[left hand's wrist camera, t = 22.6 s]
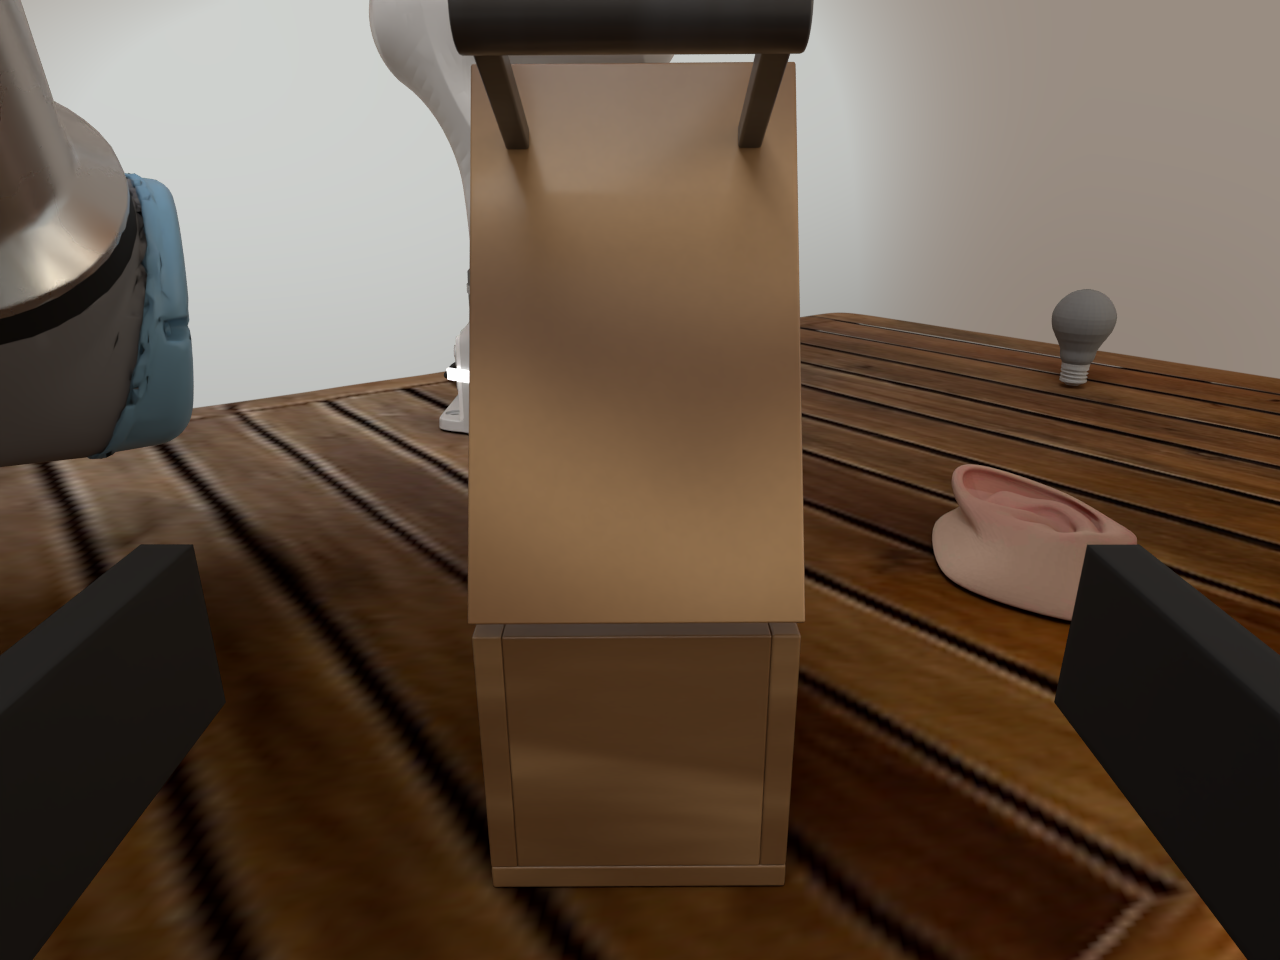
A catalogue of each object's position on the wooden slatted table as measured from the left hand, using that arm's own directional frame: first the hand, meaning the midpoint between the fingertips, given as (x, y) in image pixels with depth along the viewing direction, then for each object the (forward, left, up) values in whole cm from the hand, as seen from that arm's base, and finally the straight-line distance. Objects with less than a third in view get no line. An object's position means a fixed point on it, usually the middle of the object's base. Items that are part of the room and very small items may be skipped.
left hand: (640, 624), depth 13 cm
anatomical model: (-12, +40, -16) cm, 45 cm away
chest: (-14, +12, -16) cm, 25 cm away
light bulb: (-31, +85, -16) cm, 92 cm away
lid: (-11, +9, +1) cm, 15 cm away
